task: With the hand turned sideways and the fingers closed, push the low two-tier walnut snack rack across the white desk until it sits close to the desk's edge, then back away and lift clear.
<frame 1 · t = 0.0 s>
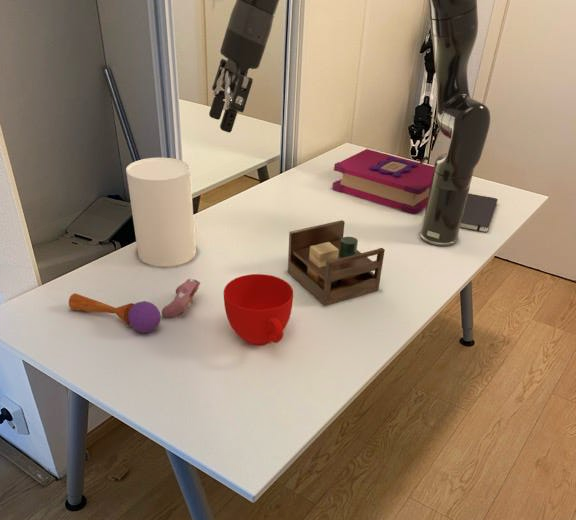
hand: (219, 124, 114), 31 cm above the table, tool tilted 20°, fingers open, 8 cm apart
notebook: (468, 214, 163), on the table
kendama: (116, 321, 116), on the table
book: (388, 191, 173), on the table
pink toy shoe: (182, 308, 121), on the table
snack rack: (332, 281, 131), on the table
ceramic cup: (262, 341, 113), on the table
canister: (167, 253, 139), on the table
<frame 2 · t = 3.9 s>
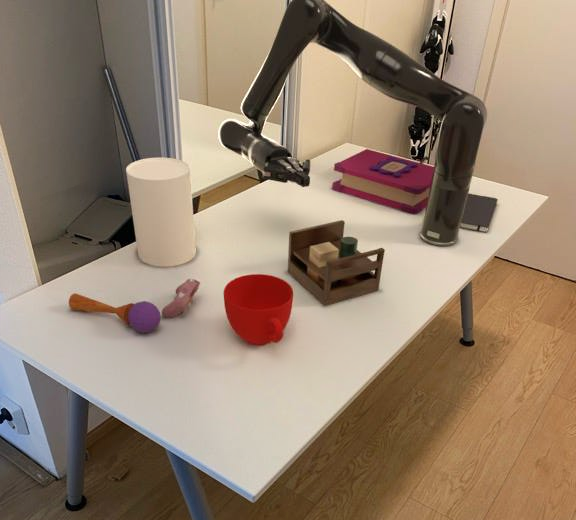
hand: (306, 182, 128), 18 cm above the table, tool horizontal, fingers closed
nothing on the table moved.
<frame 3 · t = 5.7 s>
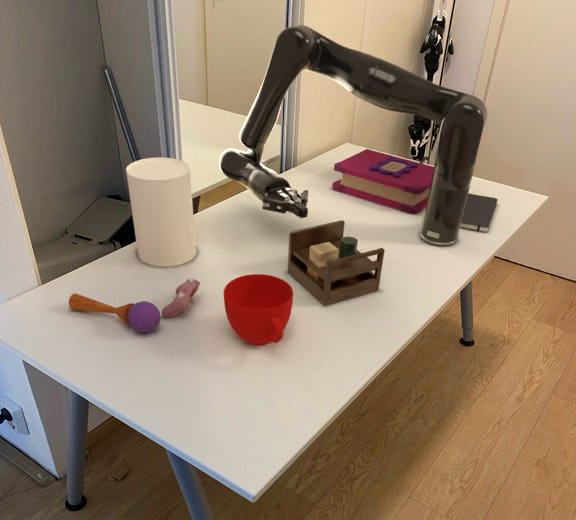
hand: (304, 213, 133), 11 cm above the table, tool horizontal, fingers closed
nothing on the table moved.
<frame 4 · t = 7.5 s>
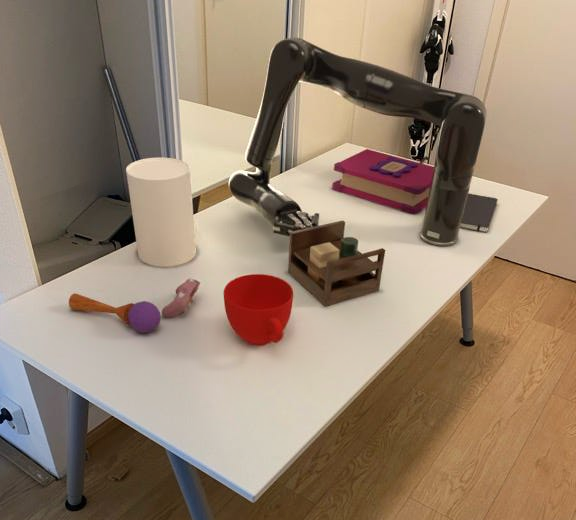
hand: (315, 238, 132), 7 cm above the table, tool horizontal, fingers closed
snack rack: (332, 281, 131), on the table, touching gripper
everything else where it was.
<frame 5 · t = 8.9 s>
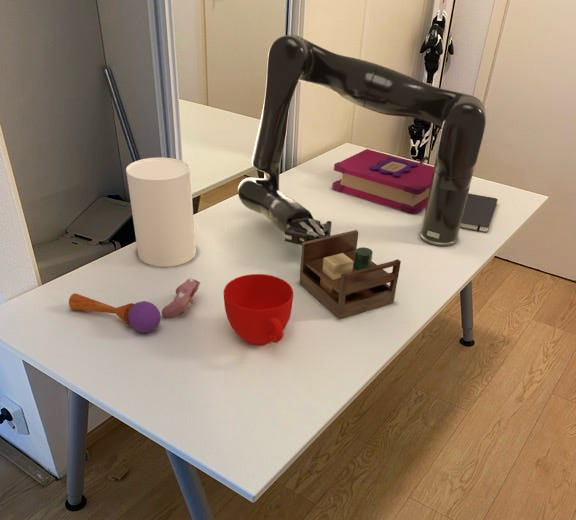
hand: (328, 247, 128), 7 cm above the table, tool horizontal, fingers closed
snack rack: (345, 293, 128), on the table, touching gripper
everything else where it was.
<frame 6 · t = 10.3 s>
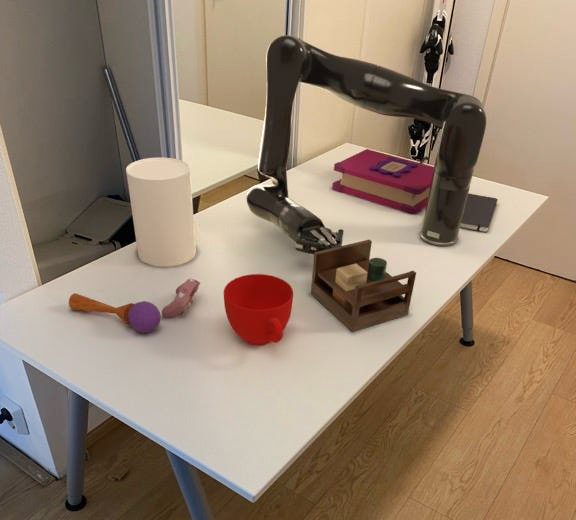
hand: (341, 256, 125), 7 cm above the table, tool horizontal, fingers closed
snack rack: (358, 304, 124), on the table, touching gripper
everything else where it was.
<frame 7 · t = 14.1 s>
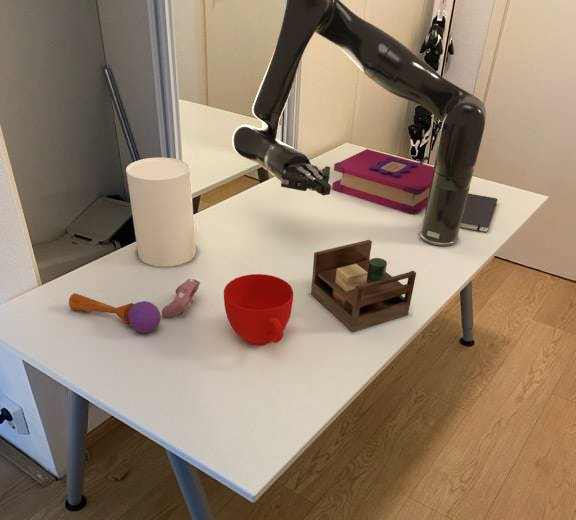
hand: (327, 190, 122), 19 cm above the table, tool horizontal, fingers closed
snack rack: (358, 304, 124), on the table
everything else where it was.
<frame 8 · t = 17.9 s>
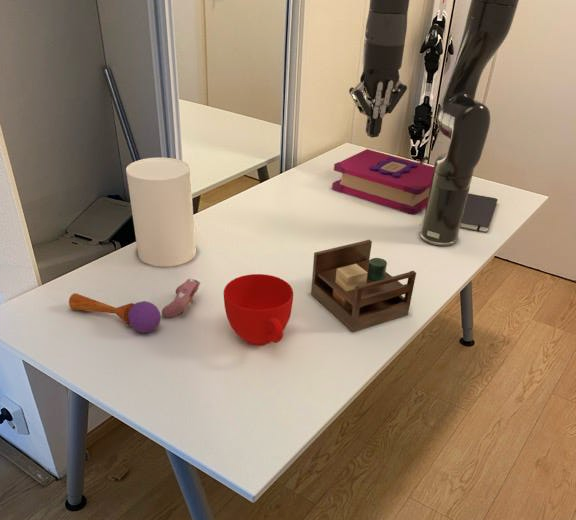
hand: (372, 136, 120), 29 cm above the table, tool pointing down, fingers closed
nothing on the table moved.
at the end: snack rack inside the target area (0.6 cm from its centre), on the table; snack rack tilted 0°; snack rack moved 10.7 cm from its start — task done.
